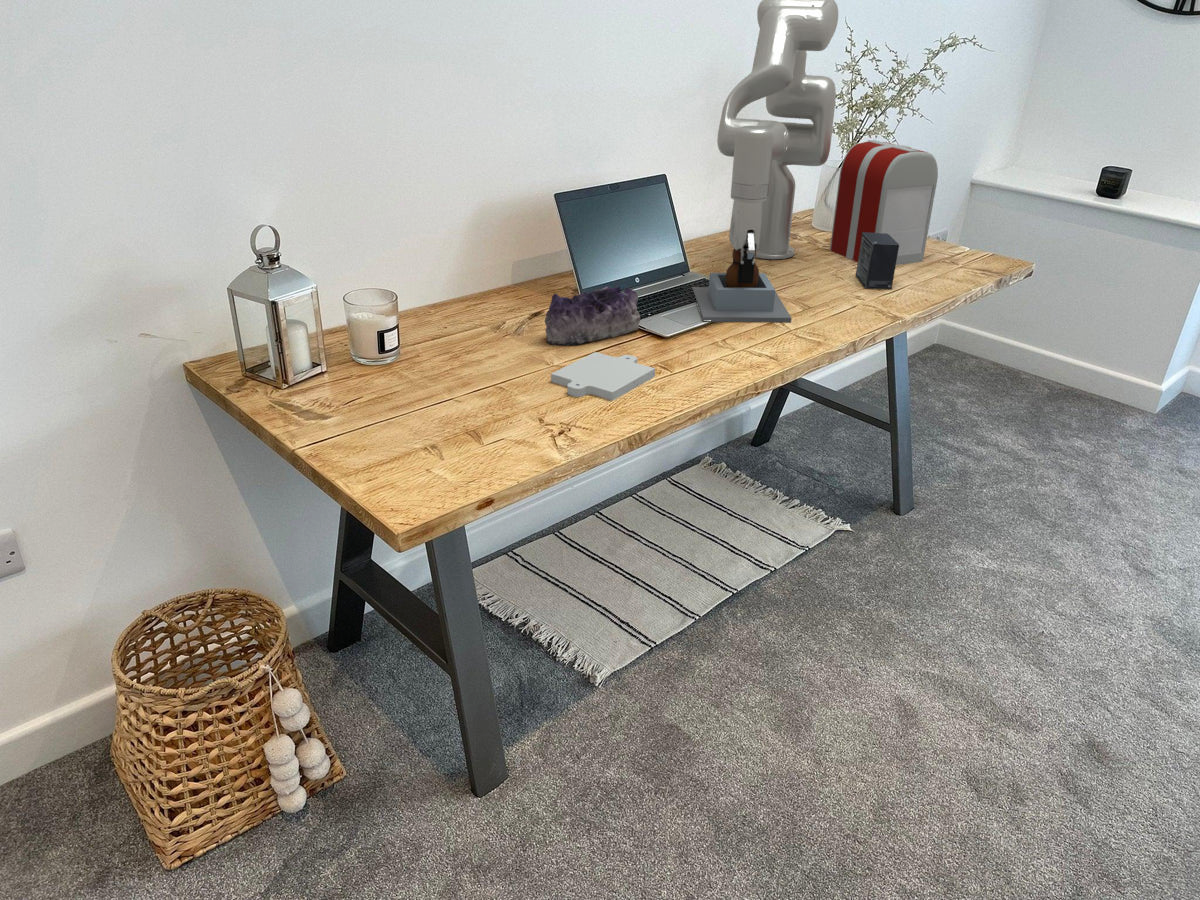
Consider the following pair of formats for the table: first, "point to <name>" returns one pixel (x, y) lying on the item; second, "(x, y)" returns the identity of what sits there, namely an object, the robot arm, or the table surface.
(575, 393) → the mounting plate
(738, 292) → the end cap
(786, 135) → the robot arm
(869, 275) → the small box
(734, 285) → the wooden figurine
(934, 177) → the red striped mailbox
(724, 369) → the table surface
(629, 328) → the geode
